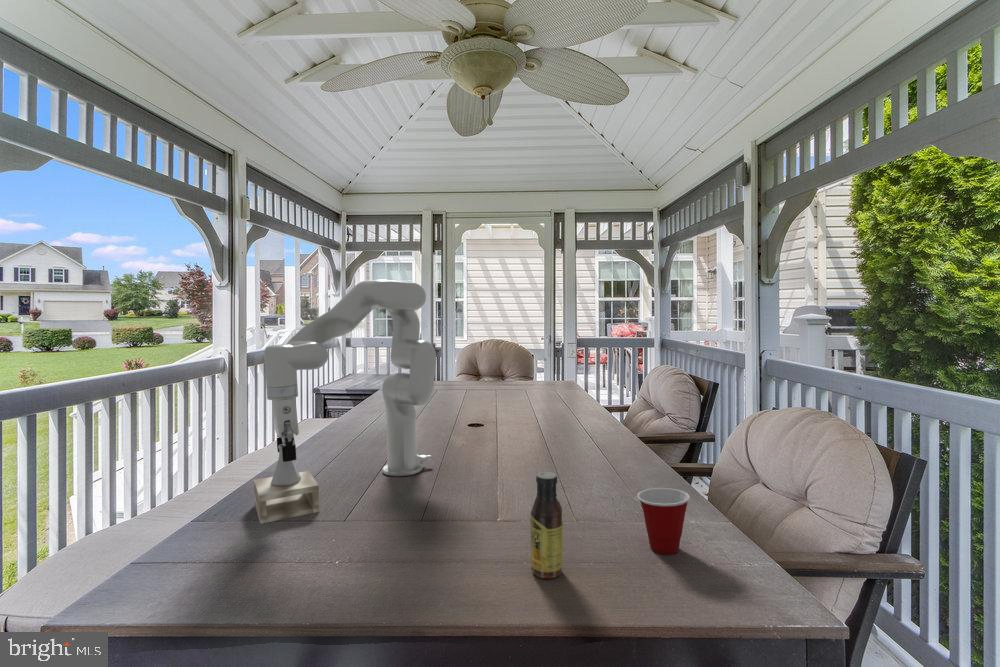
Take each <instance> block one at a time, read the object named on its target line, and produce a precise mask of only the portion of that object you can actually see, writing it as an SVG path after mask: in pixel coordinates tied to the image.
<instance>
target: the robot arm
mask: <svg viewBox="0 0 1000 667" xmlns="http://www.w3.org/2000/svg"><path fill="white" fill-rule="evenodd" d="M426 301H427V293H426V290H425V289H424V288H423V287H422V286H421V285H420V284H419V283H417V282H411V281H410V282H409V281H400V280H399V281H397V280H389V279H371V280H370V279H369V280H363V281H360V282H358V283H357V284H355V286H354V287H353V288H351V290H350V291H348V292H347V293H346V294H345V295H344V296H343V297H342V298H341V299H340V300H339V301H338V302H337V303H336V304H335V305H334V306H333V307H332V308H331V309H329V311H326V312H325V313H323V314H321V315H320V316H318V317H317V318H316V319H314V320H312V321H311V322H309V323H307V324H306V325H304V326H303V327H302V328H301V329H300V330H298V332H297V333H295V335H293V336H292V337H291V338H290V339H289V340H288V341H287V343H285V344H273V345H267V346H266V347H265V349H264V351H263V352H264V354H263V355H264V356H263V357H264V359H263V360H264V370H265V383H266V385H265V386H266V400H268V401H271V402H272V403H271V404H272V415H273V418H272V419H273V426H274V431H275V433H276V447H277V452H278V453H279V448H278V446H279V445H281V444H283V446H282V456H283V462H287V461H296V460H297V448H296V443H295V442H296V441H295V436H298V435H299V434H300V431H299V421H298V411H297V404H296V398H298V397H299V390H298V389H299V387H298V373H297V372H298V371H303V370H307V371H309V370H310V371H314V370H317V369H320V368H322V367H323V366H324V365H325V364H326V363H328V359H329V351H328V349H327V348H326V347H325V346H324V345H323V344H325V343H327V342H328V341H330V340H332V339H336V338H338V337H342V336H344V335H346V334H349V333H351V332H353V331H354V330H355V329H356V328H357V327H358V326H359V325H360V323H361V322H363V321H364V320H365V318H366V317H367V316H369V315H370V313H371V312H372V311H373V310H375V309H376V310H377V309H385V310H386V311H387V313H388V314H389V315H390V317H391V319H392V326H393V327H392V336H391V337H392V338H391V347H390V362H391V364H392V365H393V366H394V367H396V368H397V369H398V368H399V369H402V370H409V372H408V373H406V372H394V373H391V374H389V375H387V377H385V379H384V381H383V383H382V388H381V390H382V396H383V400H384V406H385V415H386V416H385V419H386V420H385V421H386V422H385V423H386V456H387V458H386V459H387V460H386V461H387V464H385V465H384V466H383V467H382V473H383V474H385V475H387V476H391V477H407V476H412V475H415V474H418V473H420V472H421V471H422V470H423V464H424V463H425V462H426V463H428V462H431V461H432V460H433V458H432V455H431V454H428V455H425V454H421V455H419V453H418V440H417V439H418V435H417V433H418V431H417V413H416V409H415V406H417V407H418V406H420V407H421V406H424V405H426V404H428V402H429V401H430V400H431V398H432V397H433V396H432V395H433V394H434V393H433V392H434V386H435V379H436V378H435V376H436V366H437V353H436V349H435V348H434V345H433V344H432V343H431V342H430V341H427V340H424V339H420V331H421V330H420V329H421V325H420V324H421V322H420V319H419V316H418V314H417V311H418V310H420V309H422V307H423V306H424V305H425V303H426Z"/></svg>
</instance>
